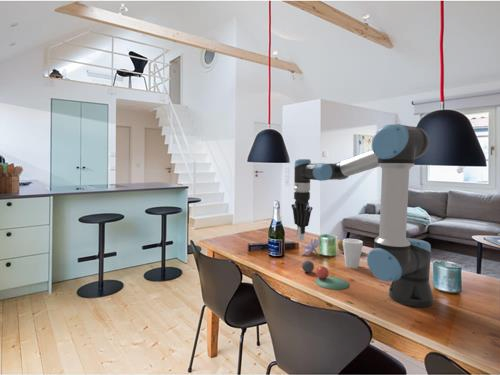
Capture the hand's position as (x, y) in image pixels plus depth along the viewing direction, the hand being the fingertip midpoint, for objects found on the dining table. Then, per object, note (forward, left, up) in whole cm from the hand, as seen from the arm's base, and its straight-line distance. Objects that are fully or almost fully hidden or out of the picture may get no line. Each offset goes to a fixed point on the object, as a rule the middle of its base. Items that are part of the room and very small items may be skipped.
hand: (300, 239), depth 150 cm
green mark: (-21, 0, -14) cm, 25 cm away
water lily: (+16, -21, -15) cm, 30 cm away
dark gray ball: (-6, 0, -12) cm, 13 cm away
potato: (+8, -43, -15) cm, 46 cm away
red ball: (-15, 0, -12) cm, 19 cm away
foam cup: (-10, -25, -15) cm, 31 cm away
